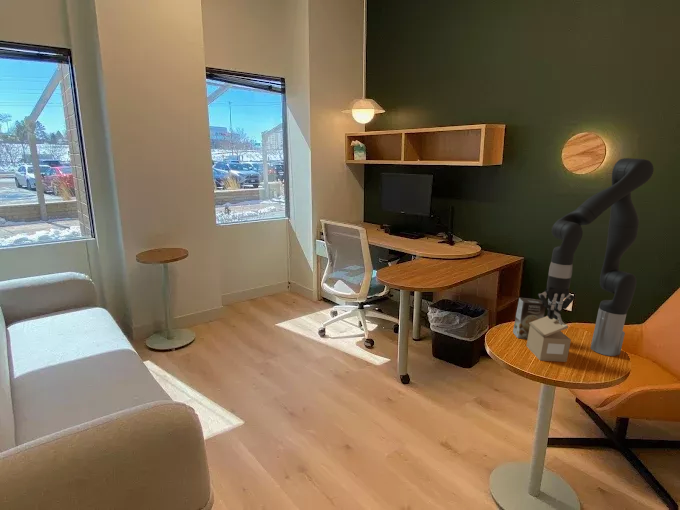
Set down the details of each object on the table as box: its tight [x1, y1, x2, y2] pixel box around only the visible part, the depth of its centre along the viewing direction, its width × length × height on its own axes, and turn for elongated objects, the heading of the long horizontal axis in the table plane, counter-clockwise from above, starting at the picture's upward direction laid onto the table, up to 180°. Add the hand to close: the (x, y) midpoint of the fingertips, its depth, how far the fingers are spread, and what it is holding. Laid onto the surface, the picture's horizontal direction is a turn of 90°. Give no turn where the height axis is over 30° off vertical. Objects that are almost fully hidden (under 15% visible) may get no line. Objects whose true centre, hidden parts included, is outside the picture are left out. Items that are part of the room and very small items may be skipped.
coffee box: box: [512, 296, 547, 340], centre depth 175 cm, size 9×6×16 cm
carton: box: [526, 325, 572, 363], centre depth 160 cm, size 10×12×9 cm
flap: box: [529, 310, 569, 337], centre depth 158 cm, size 10×12×5 cm
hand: (552, 318), depth 157 cm, fingers closed
